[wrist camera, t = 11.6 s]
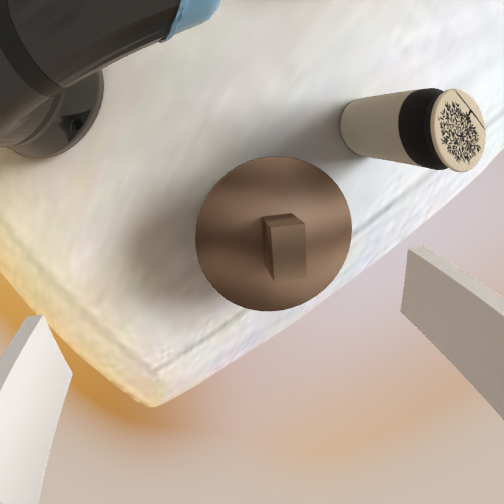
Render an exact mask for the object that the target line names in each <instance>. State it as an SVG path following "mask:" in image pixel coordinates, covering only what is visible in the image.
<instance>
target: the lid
mask: <svg viewBox="0 0 504 504" xmlns="http://www.w3.org/2000/svg"><path fill="white" fill-rule="evenodd" d="M351 234H352V224H351V216H350V211H349V207H348V204H347V201H346V199H345V197H344V195H343V193H342V192H341V190H340V189H339V187H338V186H337V184H336V183H335V182H334V181H333V180H332V179H331V178H330V177H329V176H328V175H327V174H326V173H325V172H323V171H322V170H320V169H319V168H317V167H316V166H314V165H312V164H309V163H307V162H305V161H301V160H298V159H294V158H288V157H264V158H258V159H255V160H252V161H248V162H246V163H244V164H242V165H239V166H238V167H236V168H234V169H233V170H231V171H230V172H228V173H227V174H226V175H225V176H223V177H222V178H221V179H220V180H219V181H218V182H217V183H216V184H215V185H214V187H213V188H212V189H211V191H210V192H209V194H208V195H207V196H206V198H205V200H204V202H203V204H202V206H201V209H200V212H199V215H198V219H197V224H196V234H195V242H196V252H197V256H198V261H199V264H200V266H201V269H202V271H203V273H204V275H205V277H206V278H207V280H208V281H209V283H210V284H211V285H212V286H213V288H214V289H215V290H216V291H217V292H218V293H219V294H221V295H222V296H223V297H225V298H226V299H227V300H229V301H231V302H233V303H234V304H237V305H239V306H242V307H244V308H248V309H252V310H258V311H279V310H285V309H289V308H293V307H295V306H298V305H301V304H303V303H305V302H307V301H309V300H310V299H312V298H313V297H315V296H317V295H318V294H319V293H320V292H322V291H323V290H324V289H325V288H326V287H327V286H328V285H329V284H330V283H331V282H332V281H333V279H334V278H335V277H336V276H337V274H338V273H339V271H340V269H341V268H342V266H343V264H344V262H345V259H346V257H347V254H348V251H349V247H350V242H351Z"/></svg>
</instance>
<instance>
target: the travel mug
mask: <svg viewBox="0 0 504 504" xmlns="http://www.w3.org/2000/svg"><path fill="white" fill-rule="evenodd" d="M340 130H341V134H342V137H343V140H344V142H345V143H346V145H347V146H348V147H349V149H351V150H352V151H353V152H354V153H356V154H358V155H360V156H364V157H371V158H377V159H383V160H389V161H394V162H400V163H405V164H411V165H416V166H421V167H426V168H430V169H435V170H443V169H447V168H450V169H451V170H453V171H456V172H466V171H469V170H471V169H472V168H473V167H475V166H476V164H477V163H478V162H479V160H480V158H481V156H482V154H483V151H484V147H485V138H486V133H485V124H484V120H483V116H482V114H481V111H480V109H479V107H478V105H477V104H476V102H475V101H474V100H473V98H472V97H471V96H469V95H468V94H467V93H465V92H464V91H462V90H458V89H449V90H446V91H445V92H444V91H442V90H439V89H435V88H429V89H420V90H412V91H405V92H397V93H391V94H384V95H378V96H372V97H366V98H361V99H357V100H354V101H352V102H351V103H349V104H348V105H347V106H346V108H345V109H344V111H343V113H342V116H341V120H340Z"/></svg>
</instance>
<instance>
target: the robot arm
mask: <svg viewBox="0 0 504 504" xmlns="http://www.w3.org/2000/svg"><path fill="white" fill-rule="evenodd" d="M220 1H221V0H0V148H2V147H8V148H9V149H11V150H13V151H14V152H16V153H18V154H20V155H22V156H25V157H30V158H44V157H50V156H54V155H58V154H60V153H63V152H65V151H66V150H68V149H70V148H71V147H73V146H74V145H75V144H76V143H78V142H79V141H80V140H81V139H82V138H83V137H84V136H85V134H86V133H87V132H88V131H89V129H90V128H91V126H92V125H93V123H94V121H95V119H96V117H97V115H98V112H99V110H100V107H101V103H102V99H103V92H104V80H103V74H102V70H101V69H103V68H105V67H106V66H108V65H110V64H112V63H114V62H116V61H118V60H120V59H122V58H124V57H126V56H128V55H130V54H132V53H134V52H136V51H139V50H141V49H143V48H145V47H147V46H150V45H152V44H154V43H157V42H159V43H162V42H165V41H167V40H169V39H170V38H171V37H172V36H173V35H175V34H177V33H180V32H182V31H184V30H187V29H189V28H192V27H194V26H197V25H199V24H201V23H203V22H205V21H206V20H208V19H209V18H210V17H211V16H212V14H213V13H214V12H215V10H216V9H217V8H218V6H219V4H220ZM401 312H402V313H403V314H404V315H405V316H406V317H407V318H408V319H409V320H410V321H411V322H412V323H413V324H414V325H415V326H416V327H417V328H418V329H419V330H420V331H421V332H422V333H423V334H424V335H425V336H426V337H427V338H428V339H429V340H430V341H431V342H432V343H433V344H434V345H435V346H436V347H437V348H438V349H439V350H440V351H441V352H442V353H443V354H444V355H445V356H446V357H447V359H448V360H449V361H450V362H451V363H452V364H453V365H454V366H455V367H456V368H457V369H458V370H459V371H460V372H461V373H462V374H463V375H464V376H465V378H467V380H468V381H469V382H470V383H471V384H472V385H473V386H474V387H475V388H476V389H477V390H478V392H479V393H480V394H481V395H482V396H483V397H484V398H485V399H486V400H487V401H488V403H489V404H490V405H491V406H492V407H493V408H494V409H495V410H496V412H497V413H498V414H499V415H500V416H501V417H502V418H503V419H504V298H503V297H502V296H500V295H499V294H497V293H496V292H494V291H493V290H492V289H490V288H489V287H487V286H486V285H484V284H483V283H481V282H480V281H478V280H477V279H475V278H474V277H472V276H471V275H469V274H468V273H466V272H465V271H463V270H462V269H460V268H459V267H457V266H456V265H454V264H452V263H451V262H449V261H448V260H446V259H444V258H443V257H441V256H440V255H438V254H437V253H435V252H433V251H432V250H430V249H428V248H427V247H425V246H424V245H422V246H418V247H414V248H409V249H408V255H407V265H406V274H405V283H404V290H403V298H402V305H401ZM72 375H73V374H72V372H71V370H70V368H69V366H68V364H67V363H66V361H65V359H64V357H63V355H62V353H61V351H60V349H59V347H58V345H57V343H56V341H55V339H54V337H53V335H52V333H51V331H50V329H49V326H48V324H47V322H46V320H45V318H44V315H37V316H29V317H27V318H26V319H25V321H24V322H23V323H22V325H21V327H20V328H19V330H18V331H17V333H16V334H15V336H14V337H13V339H12V340H11V342H10V344H9V345H8V347H7V348H6V350H5V352H4V353H3V355H2V357H1V358H0V504H39V499H40V493H41V488H42V483H43V479H44V474H45V470H46V465H47V461H48V457H49V452H50V448H51V445H52V441H53V437H54V433H55V430H56V426H57V423H58V419H59V416H60V413H61V409H62V406H63V402H64V400H65V396H66V393H67V390H68V387H69V384H70V381H71V378H72Z"/></svg>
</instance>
